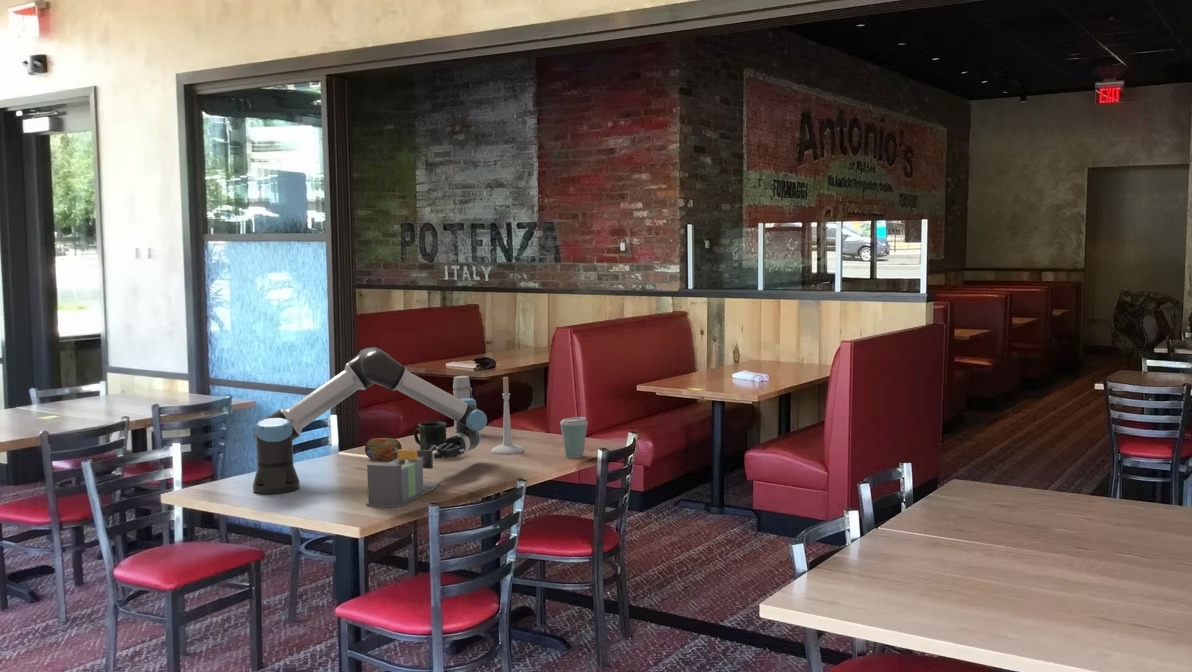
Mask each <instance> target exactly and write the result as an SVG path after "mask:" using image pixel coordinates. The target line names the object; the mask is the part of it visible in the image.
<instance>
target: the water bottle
mask: <svg viewBox="0 0 1192 672" xmlns="http://www.w3.org/2000/svg"><path fill="white" fill-rule="evenodd" d="M452 389H453V390H452V392H453V396H454V397H456V398H458V399H462V398H472V399H474V398H473V396H471V393H472V392H473V388H472V387H471V384H470V376H469V375H458V376H454V377H453V384H452ZM453 422H454V423H453V426H454V435H455V434H457V428H456V427H457V426H456V421H455V420H453Z"/></svg>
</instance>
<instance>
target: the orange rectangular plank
mask: <svg viewBox="0 0 1192 672" xmlns="http://www.w3.org/2000/svg"><path fill="white" fill-rule="evenodd" d="M417 450H418V449H413V450H408V449H403V448H402V449H399V450H397V453H398V458H397V459H402V460H405V461H408V460H417V459H418V456H417Z"/></svg>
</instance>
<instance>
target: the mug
mask: <svg viewBox="0 0 1192 672" xmlns="http://www.w3.org/2000/svg"><path fill="white" fill-rule="evenodd" d="M447 425H448V423H447V422H444V421H426V422H425V421H424V422H420V423H418V426H419V427H418V428H415V429H414V431H413V438H414V441H415V442H416V444H417V445H418V446H419V448H420V449H419V450H429V449H430V448H431V445H436V446H437V447H439V445H442V444H443V443H444V441H445V440H446V439H447ZM418 432H419V436H418Z"/></svg>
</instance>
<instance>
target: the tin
mask: <svg viewBox="0 0 1192 672" xmlns="http://www.w3.org/2000/svg"><path fill="white" fill-rule="evenodd" d="M399 449H403V448H402V443H401V442H400V441H399V440H398V439H396V438H386V437H385V438H383V437H381V438H377V437H376V438H374V437H373V438H370V439H369V440H367V442H366V443H365V446H364V451H365V454H366V456H367V457H368V458H369V459H370V460H372V459H383V460H382V461H385V460H392V461H393V460H396V459H398V453H397V450H399Z"/></svg>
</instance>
